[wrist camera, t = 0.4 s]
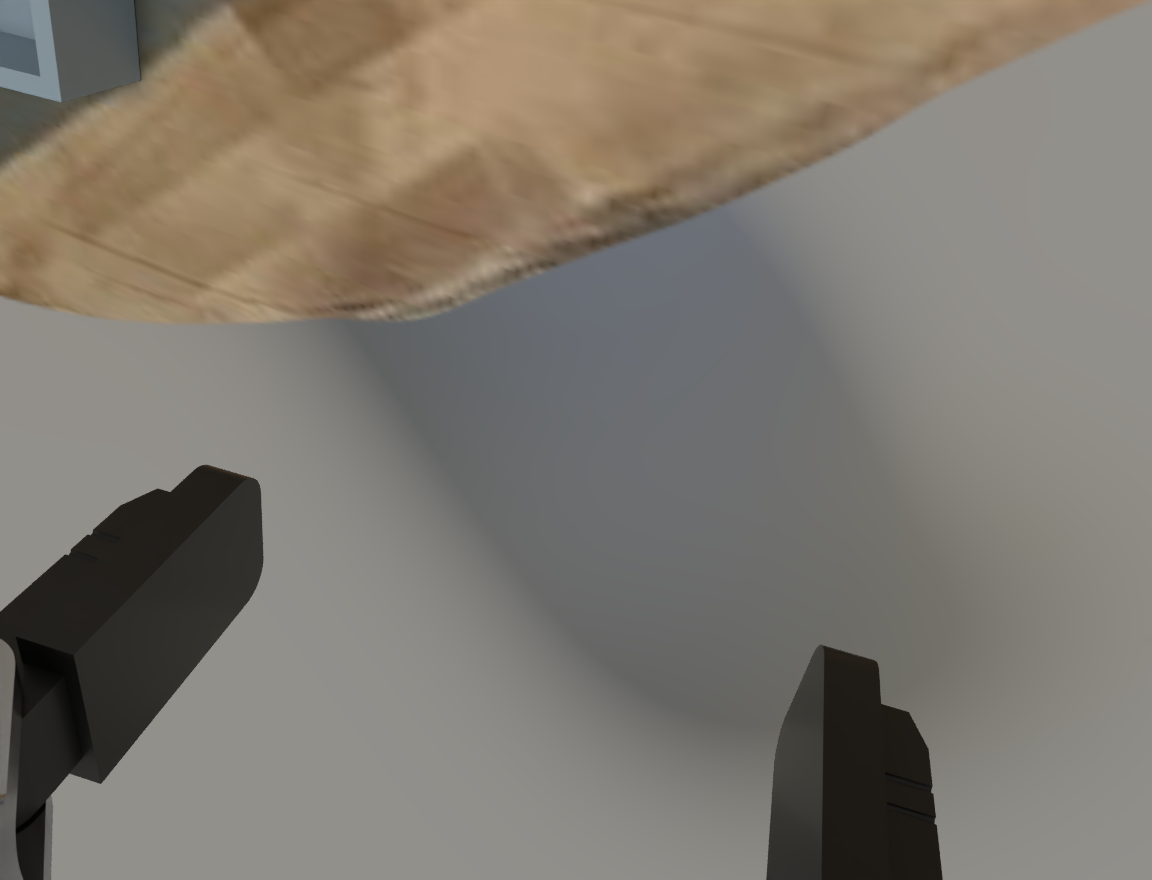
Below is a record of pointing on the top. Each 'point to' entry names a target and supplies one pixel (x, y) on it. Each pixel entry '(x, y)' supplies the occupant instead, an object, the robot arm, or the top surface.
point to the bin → (67, 46)
